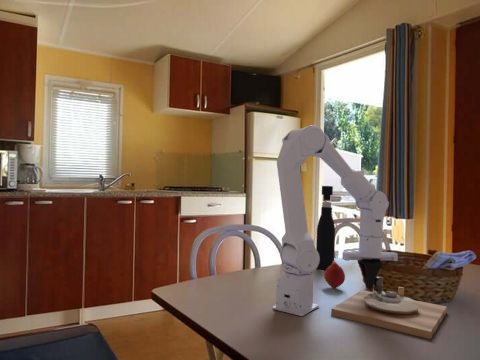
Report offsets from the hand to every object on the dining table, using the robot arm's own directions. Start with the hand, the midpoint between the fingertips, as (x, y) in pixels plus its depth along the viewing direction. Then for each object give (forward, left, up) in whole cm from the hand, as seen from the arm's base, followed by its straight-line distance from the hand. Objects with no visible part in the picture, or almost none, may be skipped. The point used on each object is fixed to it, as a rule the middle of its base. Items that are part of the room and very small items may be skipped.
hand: (369, 287), depth 100 cm
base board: (-6, -7, -4) cm, 10 cm away
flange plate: (-4, -6, -2) cm, 7 cm away
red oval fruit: (+6, +12, -4) cm, 14 cm away
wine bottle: (+29, +25, -4) cm, 38 cm away
